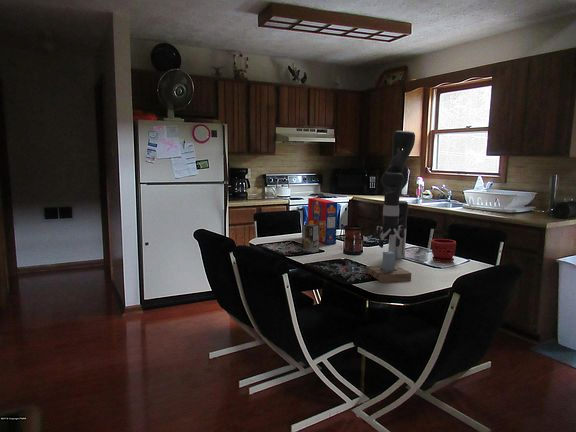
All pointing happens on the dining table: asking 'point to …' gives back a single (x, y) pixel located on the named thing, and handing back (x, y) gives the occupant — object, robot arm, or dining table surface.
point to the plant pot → (443, 250)
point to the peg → (388, 261)
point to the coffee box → (310, 238)
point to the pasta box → (323, 218)
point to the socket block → (388, 273)
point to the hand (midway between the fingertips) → (389, 246)
